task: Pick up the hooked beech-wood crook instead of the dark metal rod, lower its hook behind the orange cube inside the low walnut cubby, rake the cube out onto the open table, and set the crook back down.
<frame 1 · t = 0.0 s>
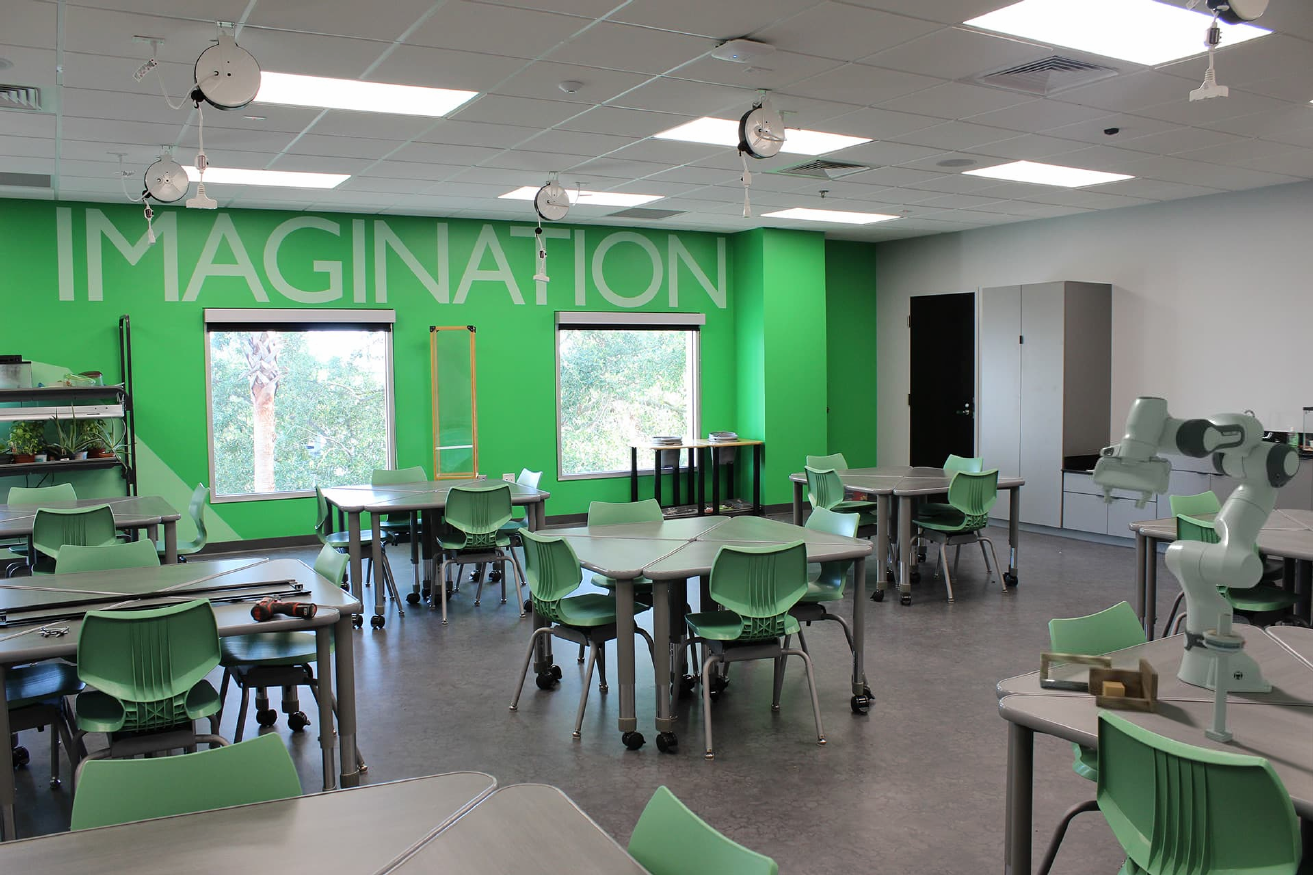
hand: (1122, 506, 246), 52 cm above the table, fingers open, 8 cm apart
dark metal rod: (1063, 689, 260), on the table
model tower: (1218, 738, 226), on the table
walnut cubby: (1121, 701, 250), on the table
orange cube: (1112, 701, 251), resting in walnut cubby
beech crook: (1074, 683, 264), on the table
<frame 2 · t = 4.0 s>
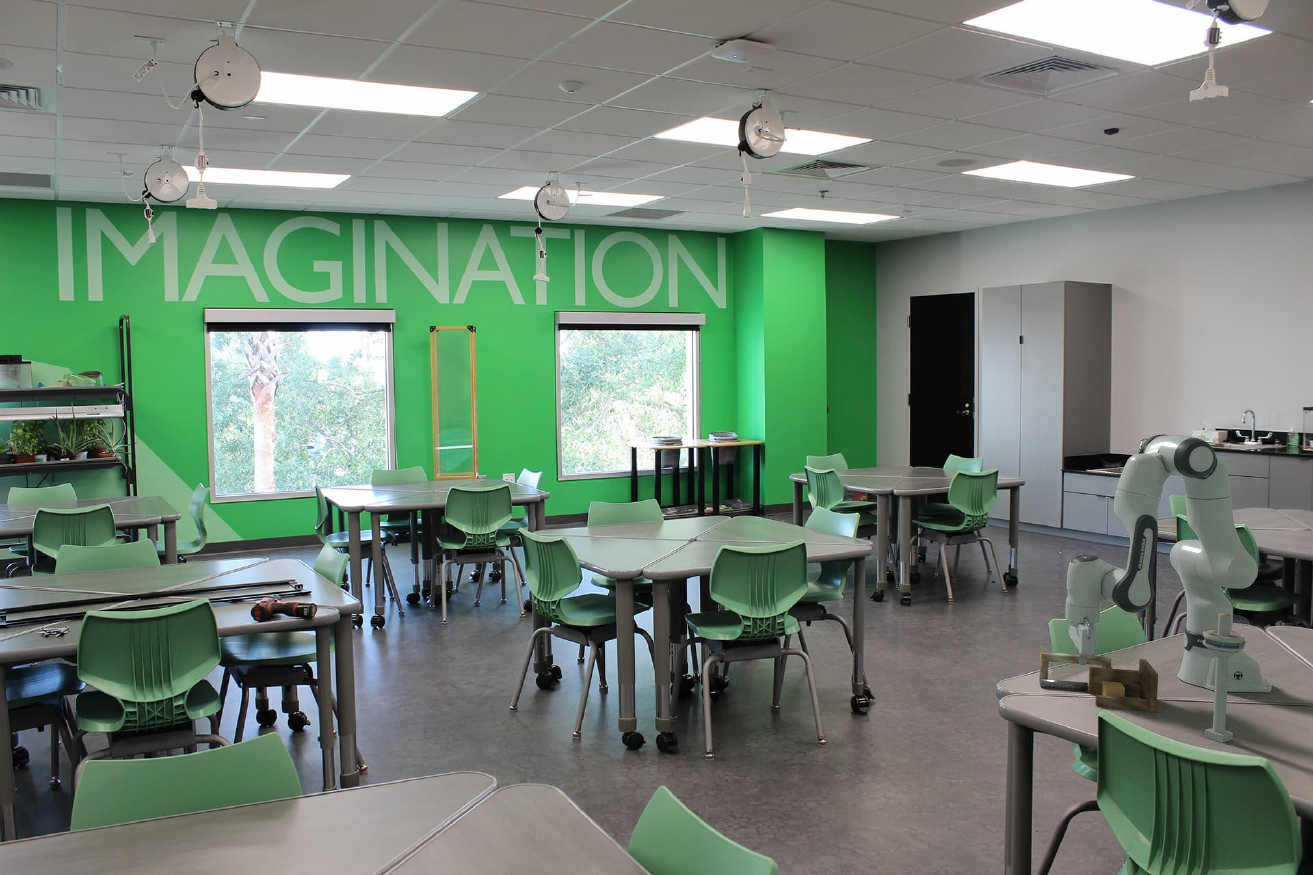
hand: (1081, 662, 263), 6 cm above the table, fingers closed on beech crook
dark metal rod: (1063, 688, 260), on the table, tilted 13°
beech crook: (1074, 683, 264), on the table, touching gripper
everything else where it was.
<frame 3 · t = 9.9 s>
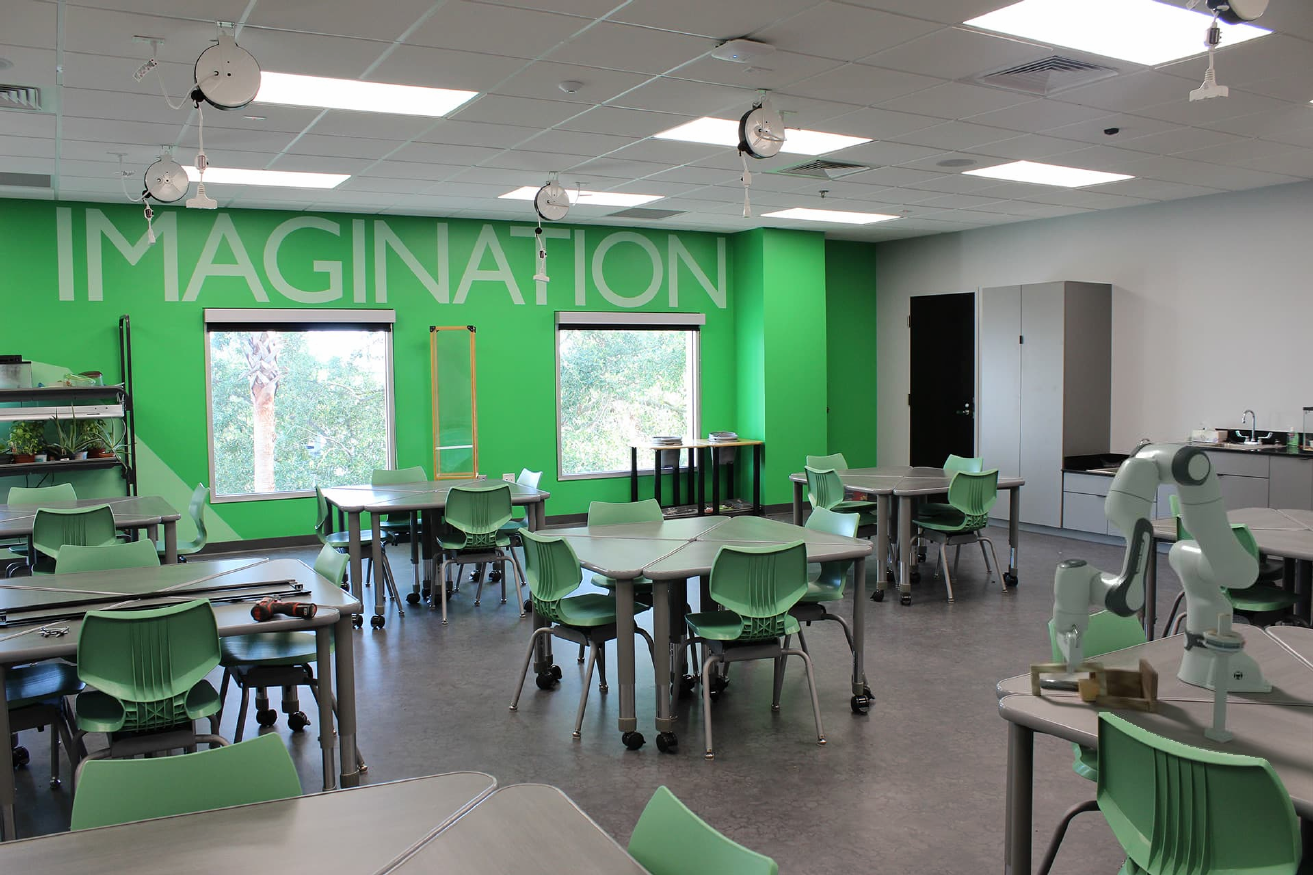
hand: (1068, 671, 253), 7 cm above the table, fingers closed on beech crook, 2 cm apart
orange cube: (1090, 697, 252), on the table, tilted 6°, touching beech crook
beech crook: (1068, 693, 253), point 1 cm above the table, tilted 6°, touching gripper, orange cube
everything else where it was.
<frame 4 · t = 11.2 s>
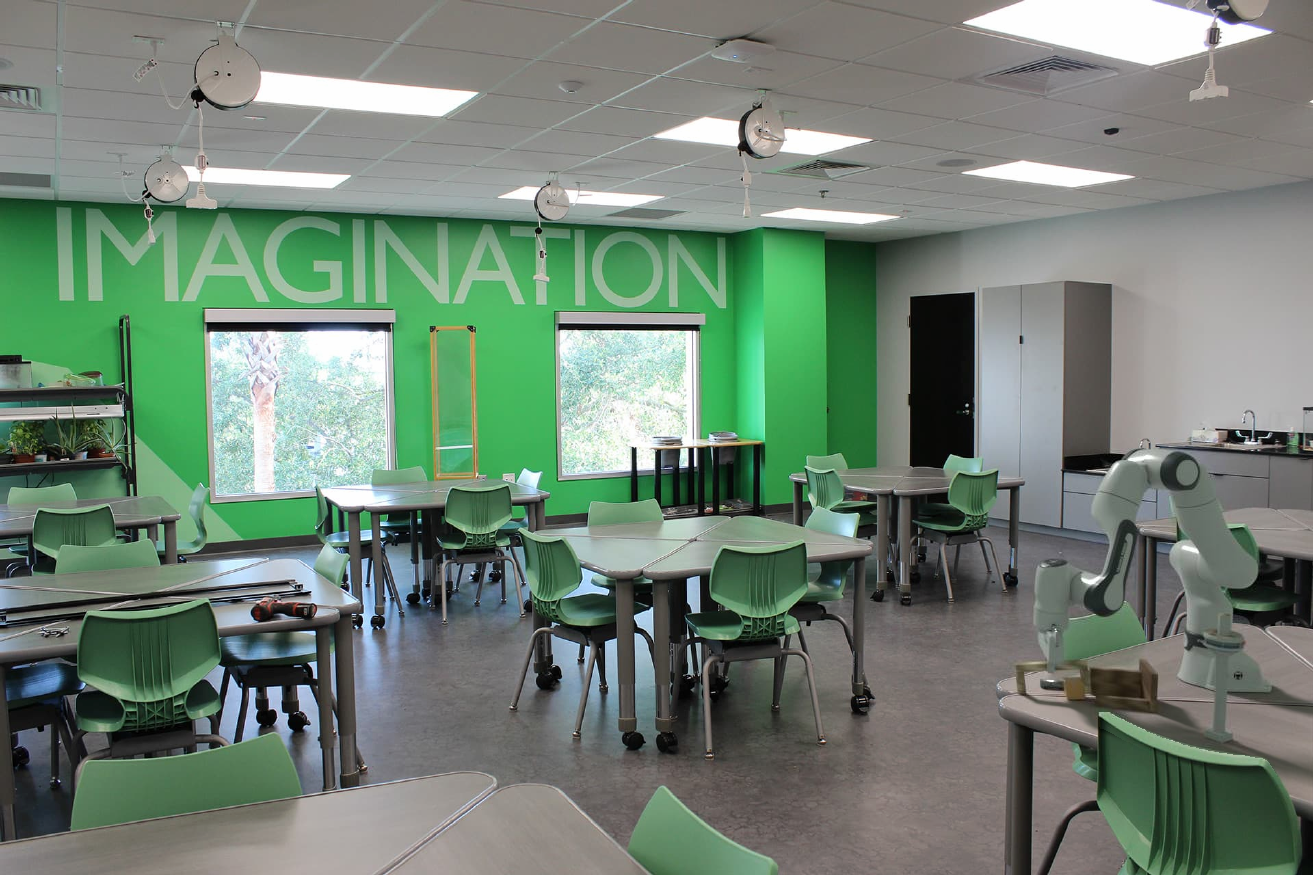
hand: (1049, 670, 254), 7 cm above the table, fingers closed on beech crook
dark metal rod: (1063, 688, 260), on the table, tilted 18°
orange cube: (1075, 696, 253), on the table, tilted 8°, touching beech crook
beech crook: (1053, 691, 254), point 1 cm above the table, tilted 8°, touching gripper, orange cube
everything else where it was.
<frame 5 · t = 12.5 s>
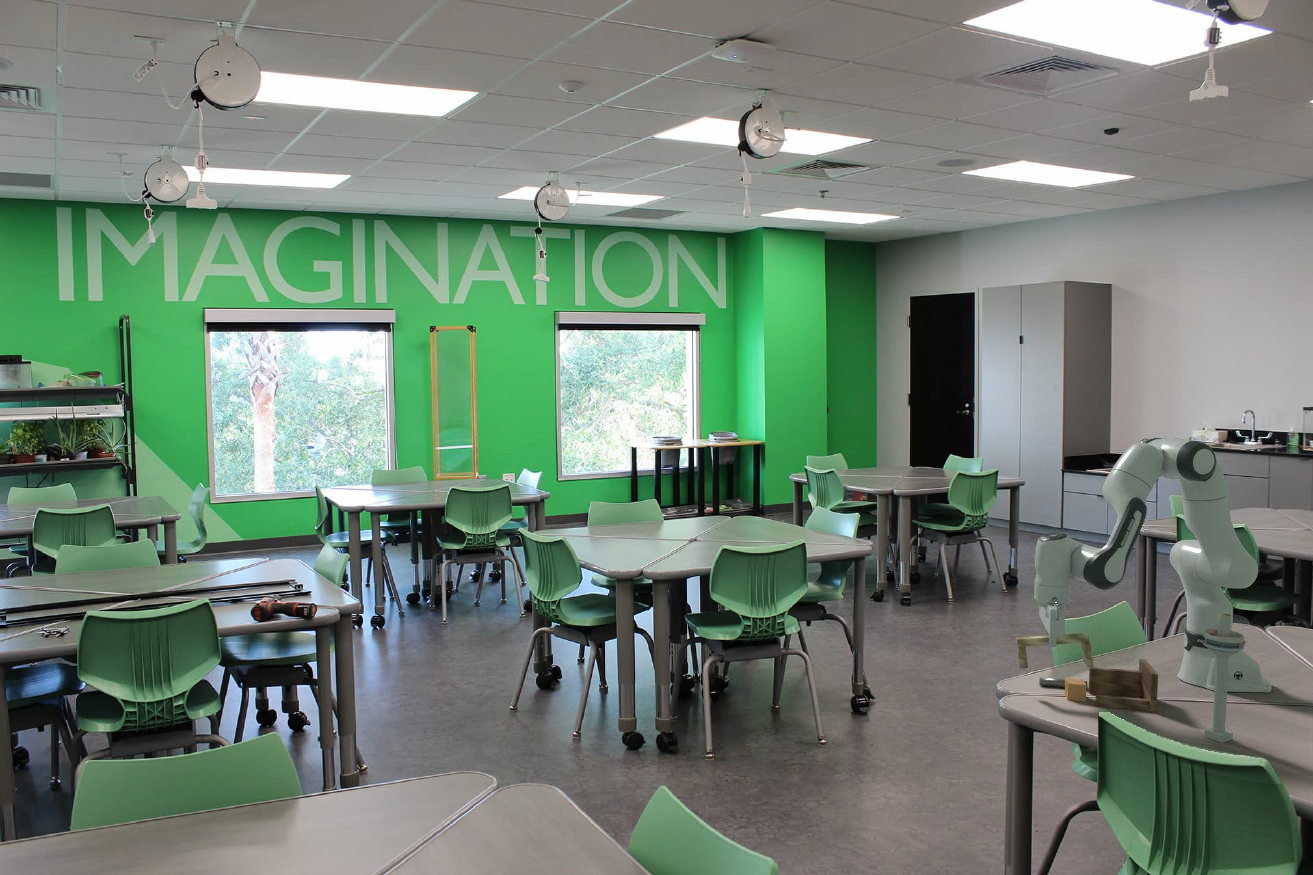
hand: (1051, 644, 254), 14 cm above the table, fingers closed on beech crook
dark metal rod: (1063, 687, 260), on the table, tilted 50°
orange cube: (1075, 697, 253), on the table
beech crook: (1055, 665, 254), point 8 cm above the table, tilted 8°, touching gripper
everything else where it was.
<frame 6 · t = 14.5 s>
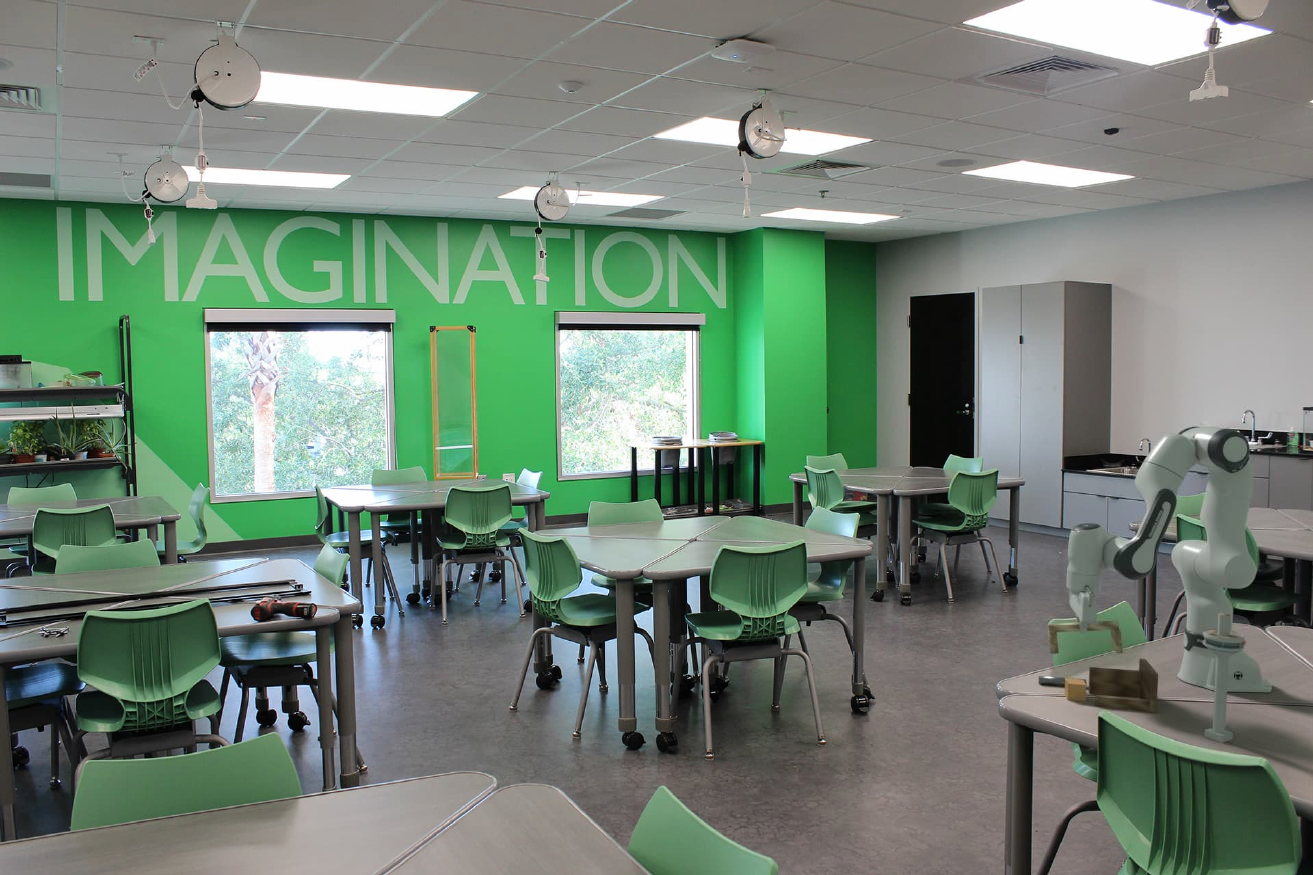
hand: (1081, 631, 263), 15 cm above the table, fingers closed on beech crook
dark metal rod: (1062, 679, 262), point 2 cm above the table, tilted 134°
beech crook: (1085, 651, 263), point 9 cm above the table, tilted 7°, touching gripper
everything else where it was.
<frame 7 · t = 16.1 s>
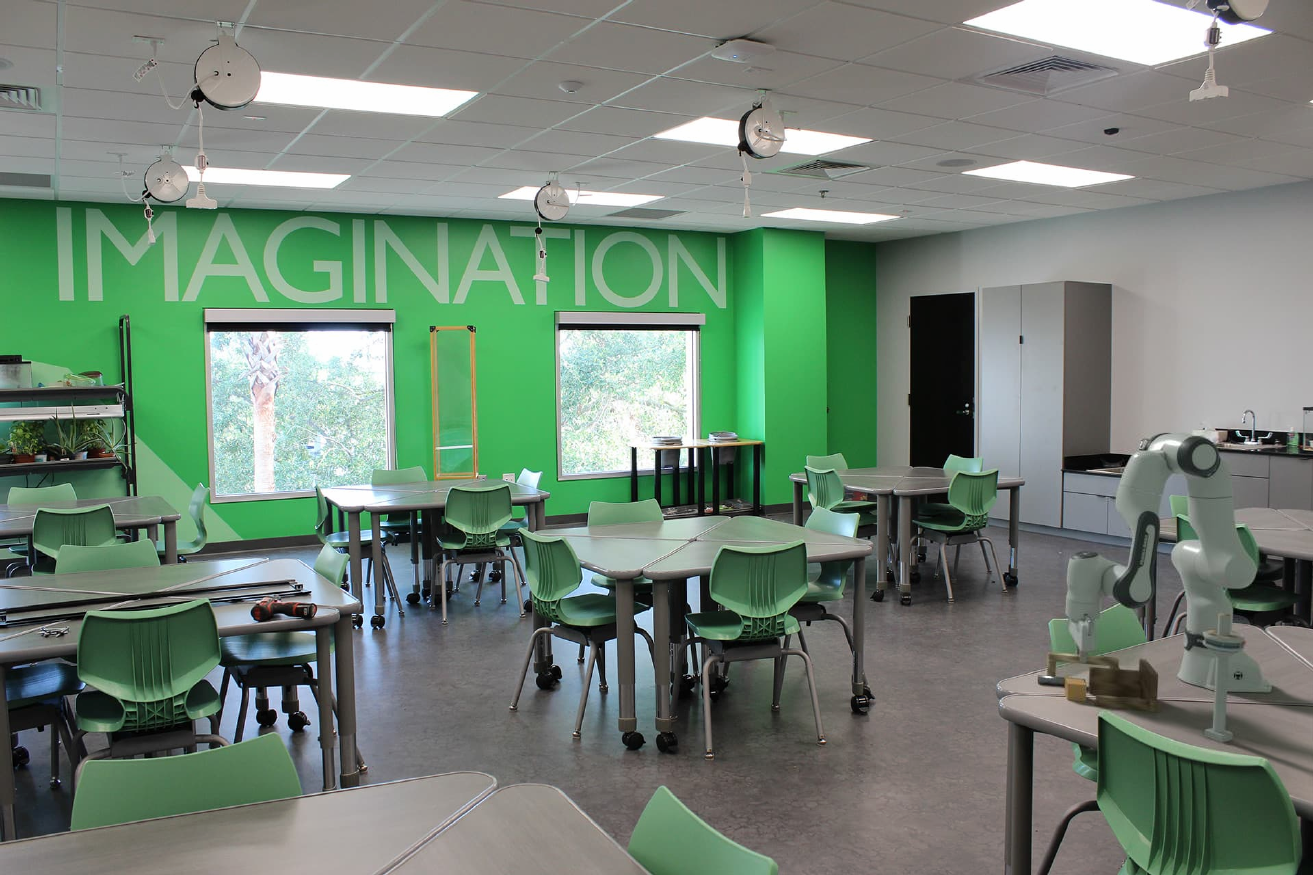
hand: (1081, 658, 263), 7 cm above the table, fingers open, 3 cm apart
dark metal rod: (1061, 677, 263), point 2 cm above the table, tilted 180°
beech crook: (1081, 683, 264), on the table
everything else where it was.
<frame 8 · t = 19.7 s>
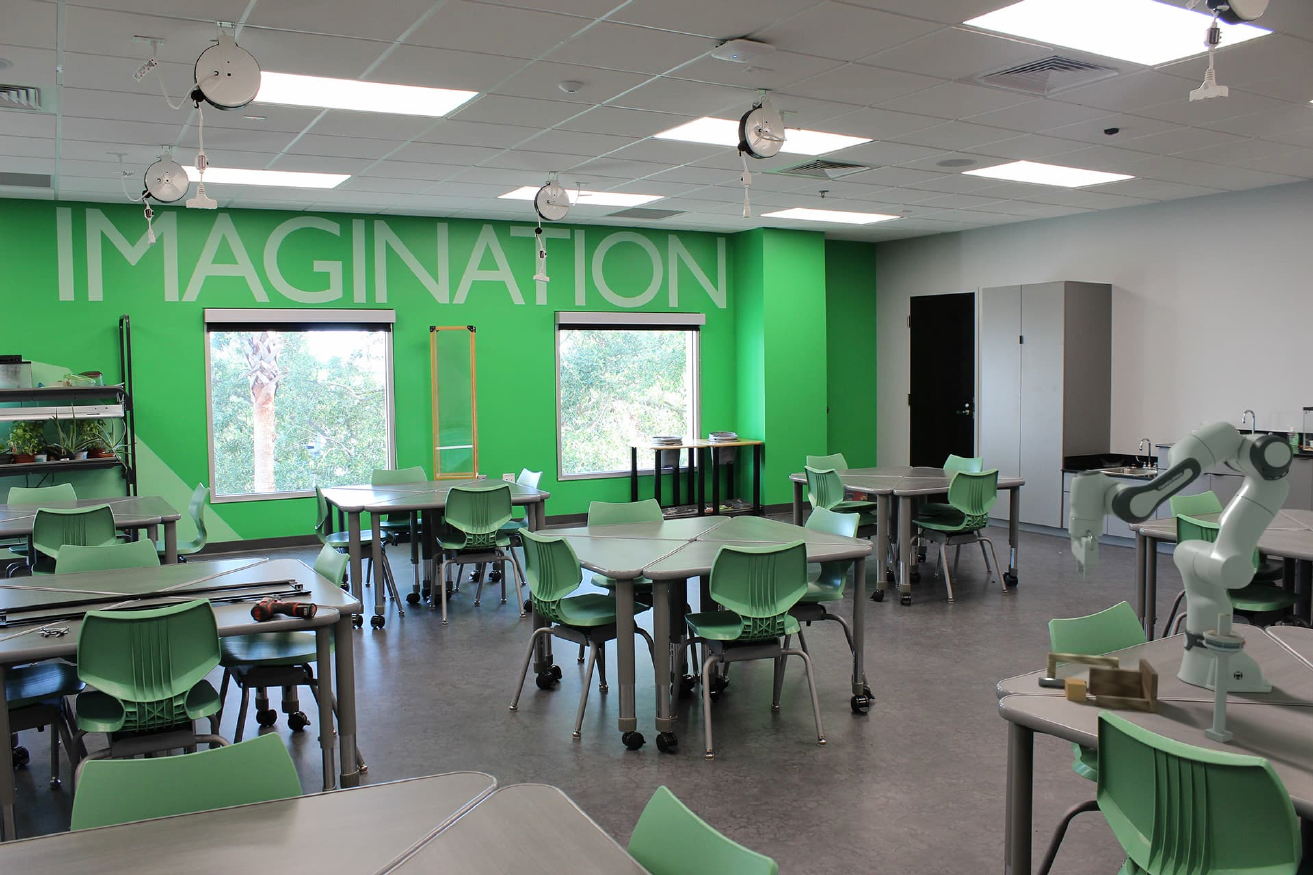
hand: (1083, 576, 267), 29 cm above the table, fingers open, 8 cm apart
dark metal rod: (1062, 685, 260), point 1 cm above the table, tilted 85°
everything else where it was.
at the end: orange cube inside the target area (5.5 cm from its centre), on the table; orange cube tilted 0°; beech crook on the table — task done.
